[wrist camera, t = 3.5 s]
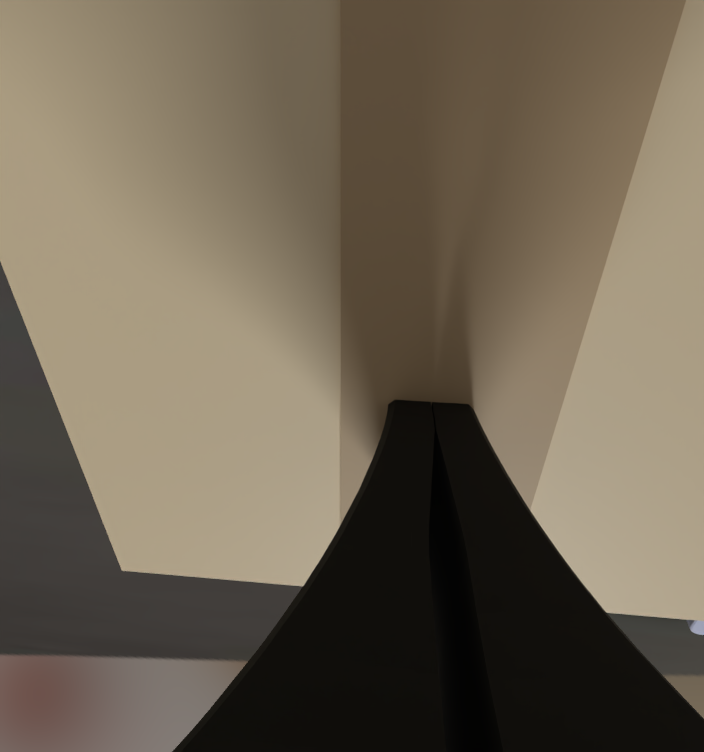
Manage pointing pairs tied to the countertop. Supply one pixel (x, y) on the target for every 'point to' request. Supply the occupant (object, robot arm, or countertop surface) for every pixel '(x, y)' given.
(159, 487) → the cardboard lid
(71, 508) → the countertop surface
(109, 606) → the countertop surface
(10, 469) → the countertop surface
